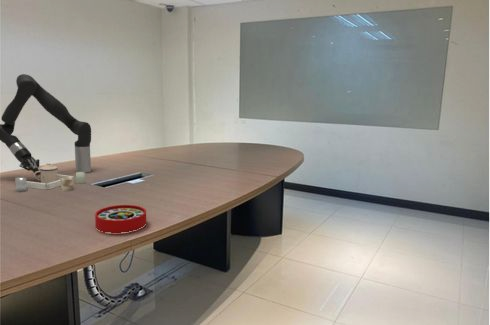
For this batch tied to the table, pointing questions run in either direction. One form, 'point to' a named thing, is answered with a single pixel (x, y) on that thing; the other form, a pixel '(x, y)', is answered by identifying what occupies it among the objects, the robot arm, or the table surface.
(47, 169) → the teacup with lid
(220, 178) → the table surface
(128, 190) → the table surface
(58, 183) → the sorting bay
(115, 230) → the toy clock
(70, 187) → the birch block
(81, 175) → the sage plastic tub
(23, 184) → the metal cylinder
